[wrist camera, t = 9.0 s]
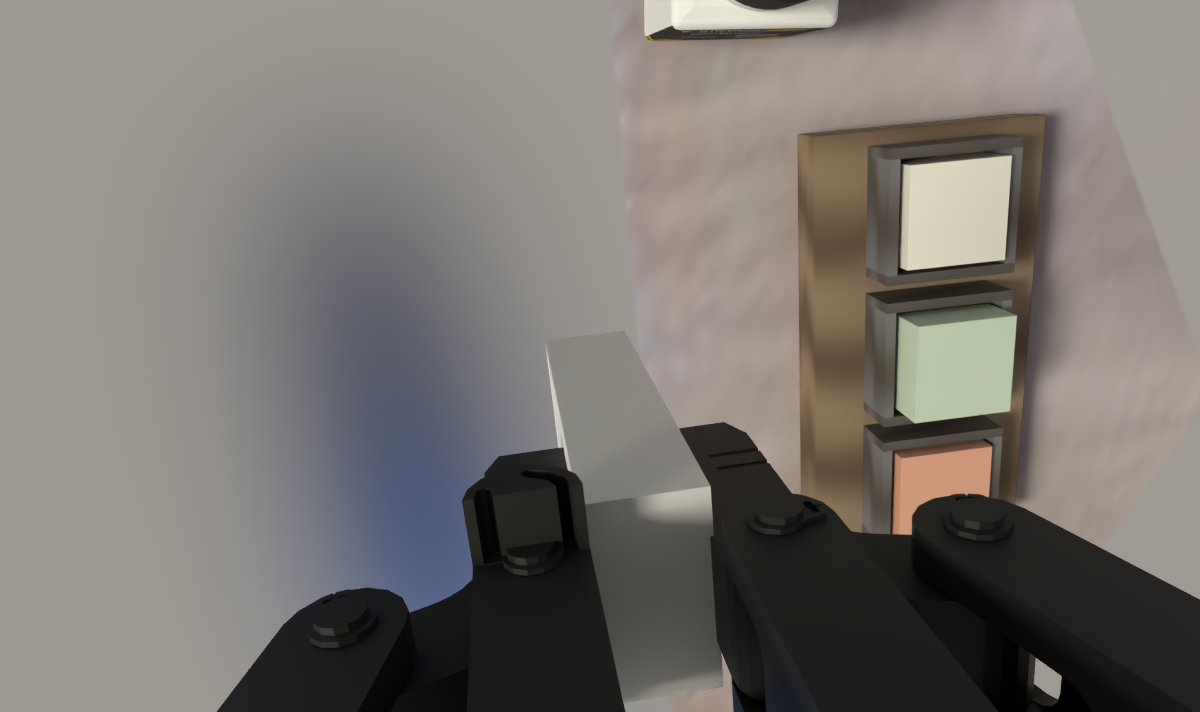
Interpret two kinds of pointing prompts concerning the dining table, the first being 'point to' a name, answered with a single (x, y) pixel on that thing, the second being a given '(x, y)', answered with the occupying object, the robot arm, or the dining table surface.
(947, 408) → the sage button
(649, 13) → the medicine bottle
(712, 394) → the dining table surface
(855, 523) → the button panel
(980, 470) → the terracotta button
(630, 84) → the dining table surface
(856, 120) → the dining table surface
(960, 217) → the cream button
